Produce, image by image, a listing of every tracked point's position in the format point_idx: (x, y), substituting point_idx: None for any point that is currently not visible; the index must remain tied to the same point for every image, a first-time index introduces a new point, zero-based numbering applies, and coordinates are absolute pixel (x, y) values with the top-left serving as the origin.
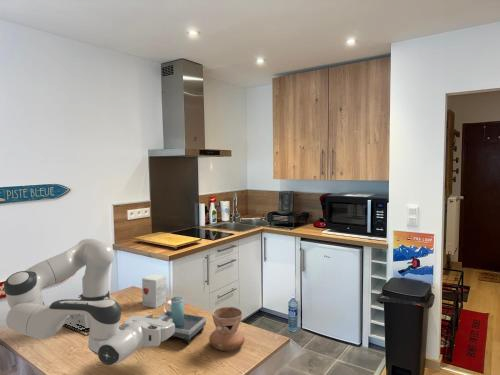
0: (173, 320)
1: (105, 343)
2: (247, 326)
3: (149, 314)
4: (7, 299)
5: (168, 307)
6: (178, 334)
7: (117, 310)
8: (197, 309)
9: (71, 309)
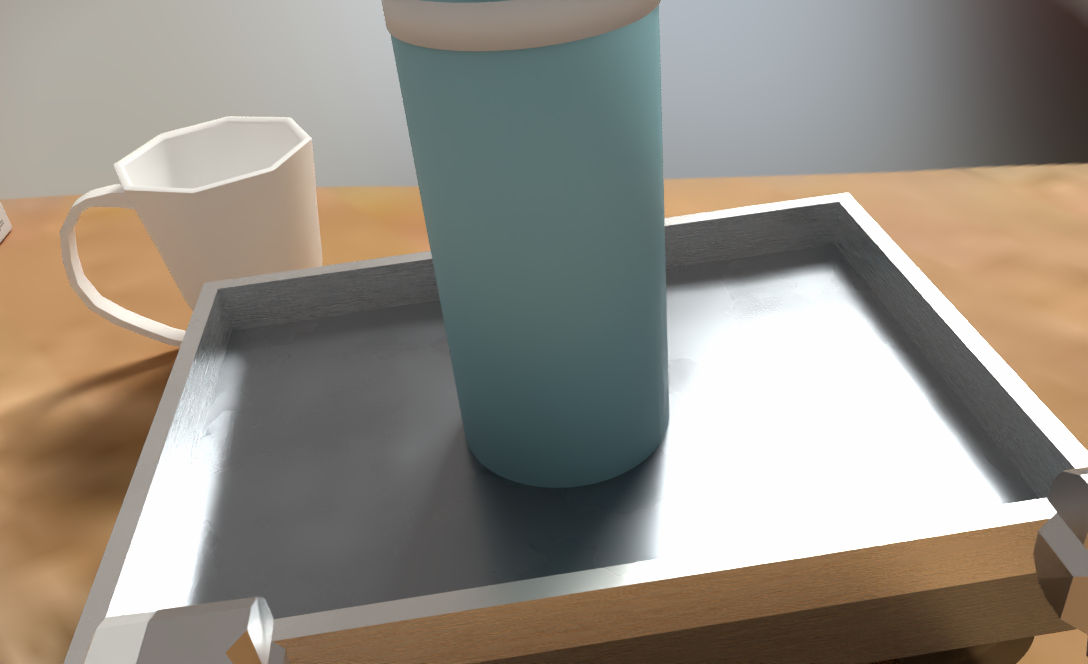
0: (552, 407)
1: None
2: (1074, 173)
3: (107, 636)
4: None
5: (157, 248)
6: (856, 628)
7: None
8: (405, 191)
9: None
